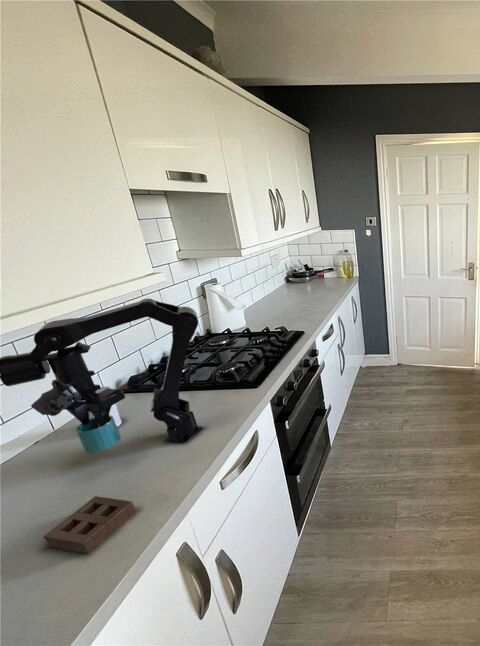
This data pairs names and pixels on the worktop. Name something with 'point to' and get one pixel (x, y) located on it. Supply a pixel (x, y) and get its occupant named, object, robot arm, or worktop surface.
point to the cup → (113, 409)
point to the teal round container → (98, 435)
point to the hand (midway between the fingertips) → (95, 424)
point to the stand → (90, 524)
